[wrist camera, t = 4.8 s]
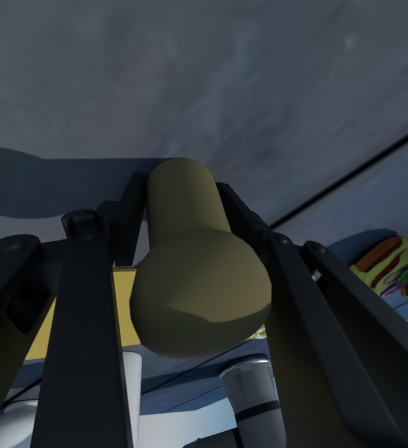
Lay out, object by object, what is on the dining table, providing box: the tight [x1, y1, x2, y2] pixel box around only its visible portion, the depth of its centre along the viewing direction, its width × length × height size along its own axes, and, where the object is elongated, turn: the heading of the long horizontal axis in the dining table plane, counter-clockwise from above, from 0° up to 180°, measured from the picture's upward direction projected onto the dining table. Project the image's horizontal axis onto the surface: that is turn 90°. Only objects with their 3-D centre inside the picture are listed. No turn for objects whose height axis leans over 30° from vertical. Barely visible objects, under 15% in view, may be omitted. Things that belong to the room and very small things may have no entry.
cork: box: [129, 158, 271, 358], centre depth 9 cm, size 6×6×11 cm
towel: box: [25, 268, 140, 360], centre depth 19 cm, size 18×20×1 cm
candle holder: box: [123, 351, 142, 448], centre depth 25 cm, size 10×10×12 cm
